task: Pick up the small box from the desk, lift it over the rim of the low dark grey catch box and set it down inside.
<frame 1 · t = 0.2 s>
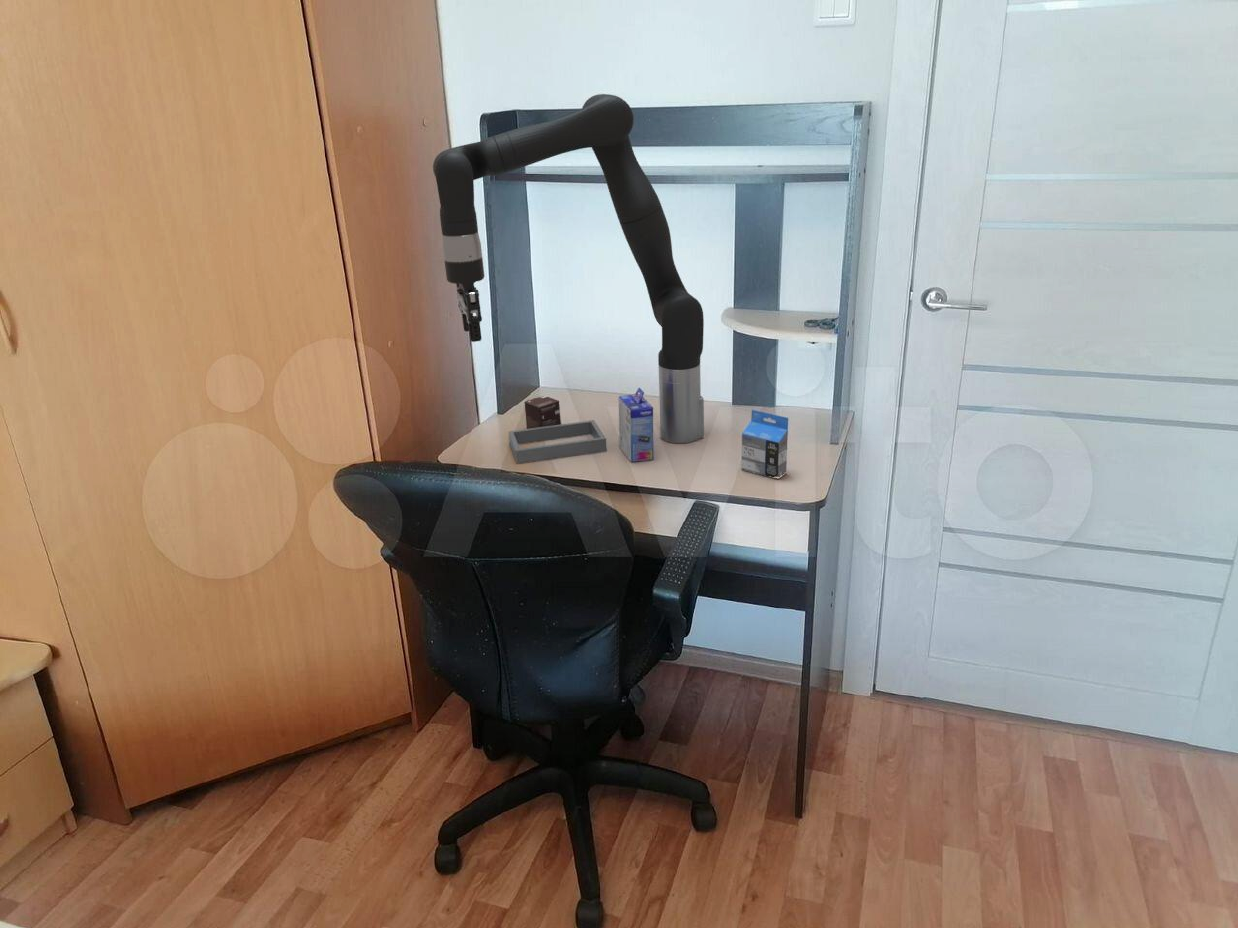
hand: (472, 335, 186), 29 cm above the table, tool pointing down, fingers open, 8 cm apart
label tape cartridge: (763, 472, 187), on the table
catch box: (557, 447, 204), on the table
ink cartridge box: (637, 454, 199), on the table
box: (544, 431, 214), on the table
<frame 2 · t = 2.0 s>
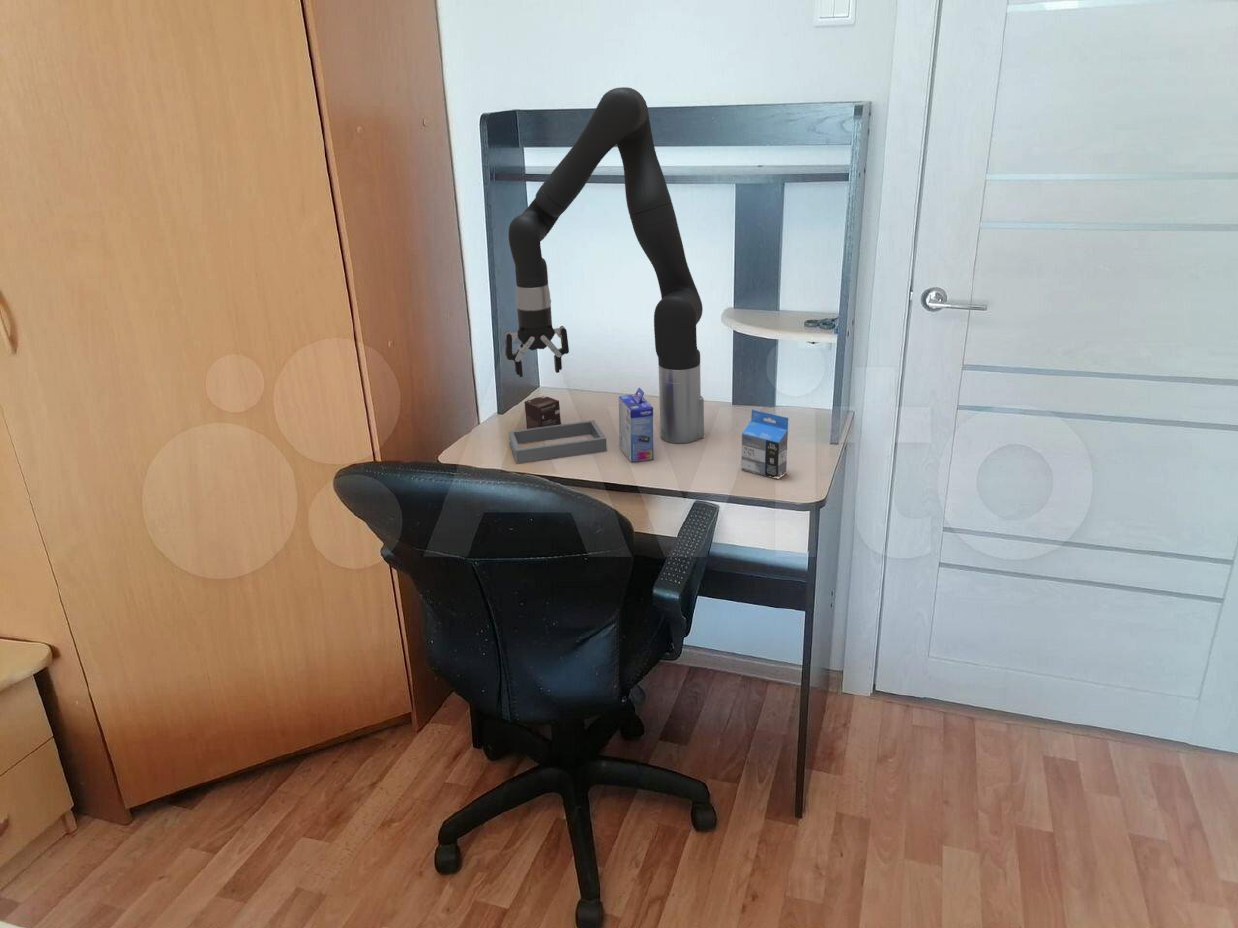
hand: (538, 374, 208), 14 cm above the table, tool pointing down, fingers open, 8 cm apart
nothing on the table moved.
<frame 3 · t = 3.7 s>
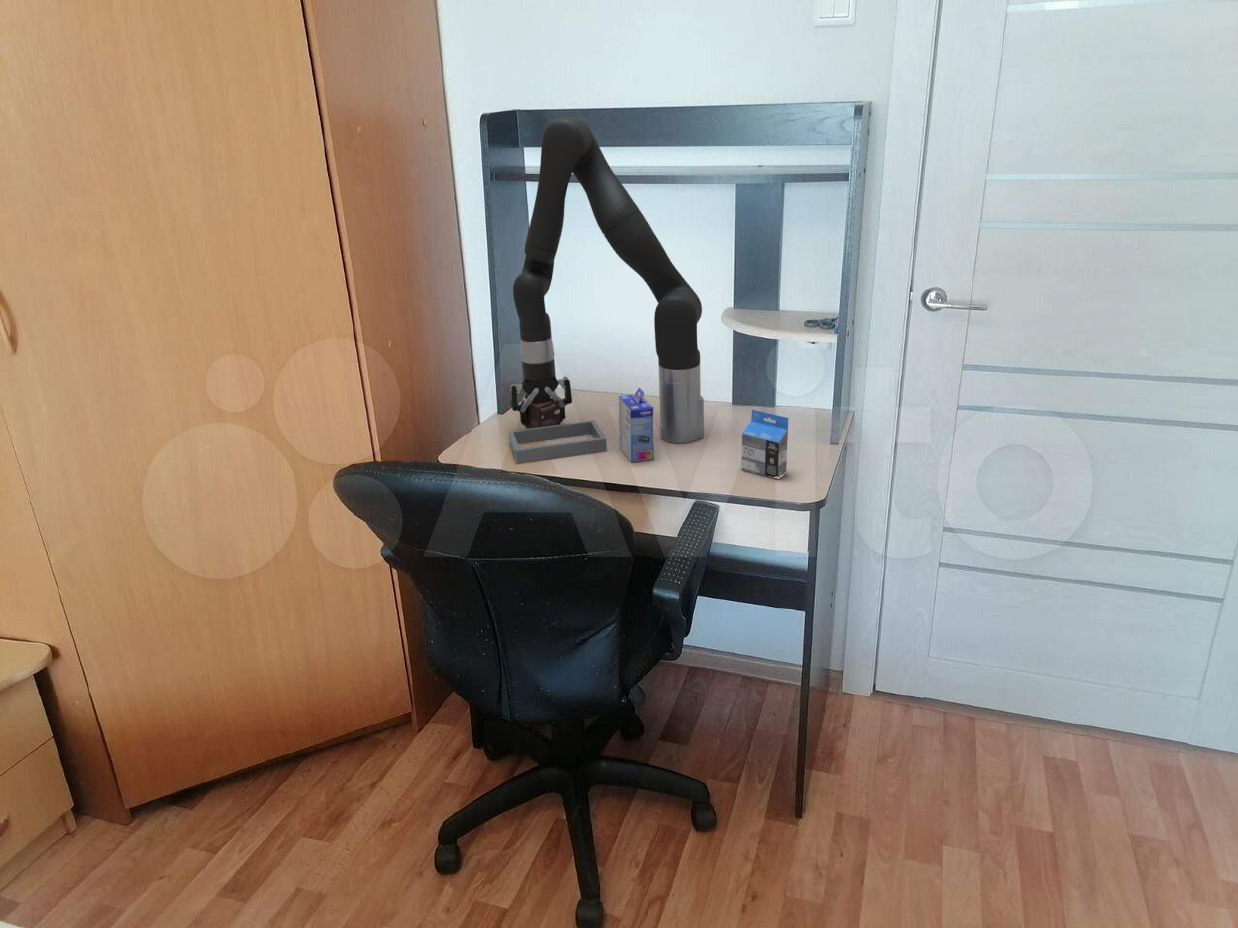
hand: (543, 423, 213), 2 cm above the table, tool pointing down, fingers closed on box, 8 cm apart
box: (543, 430, 214), on the table, touching gripper
everything else where it was.
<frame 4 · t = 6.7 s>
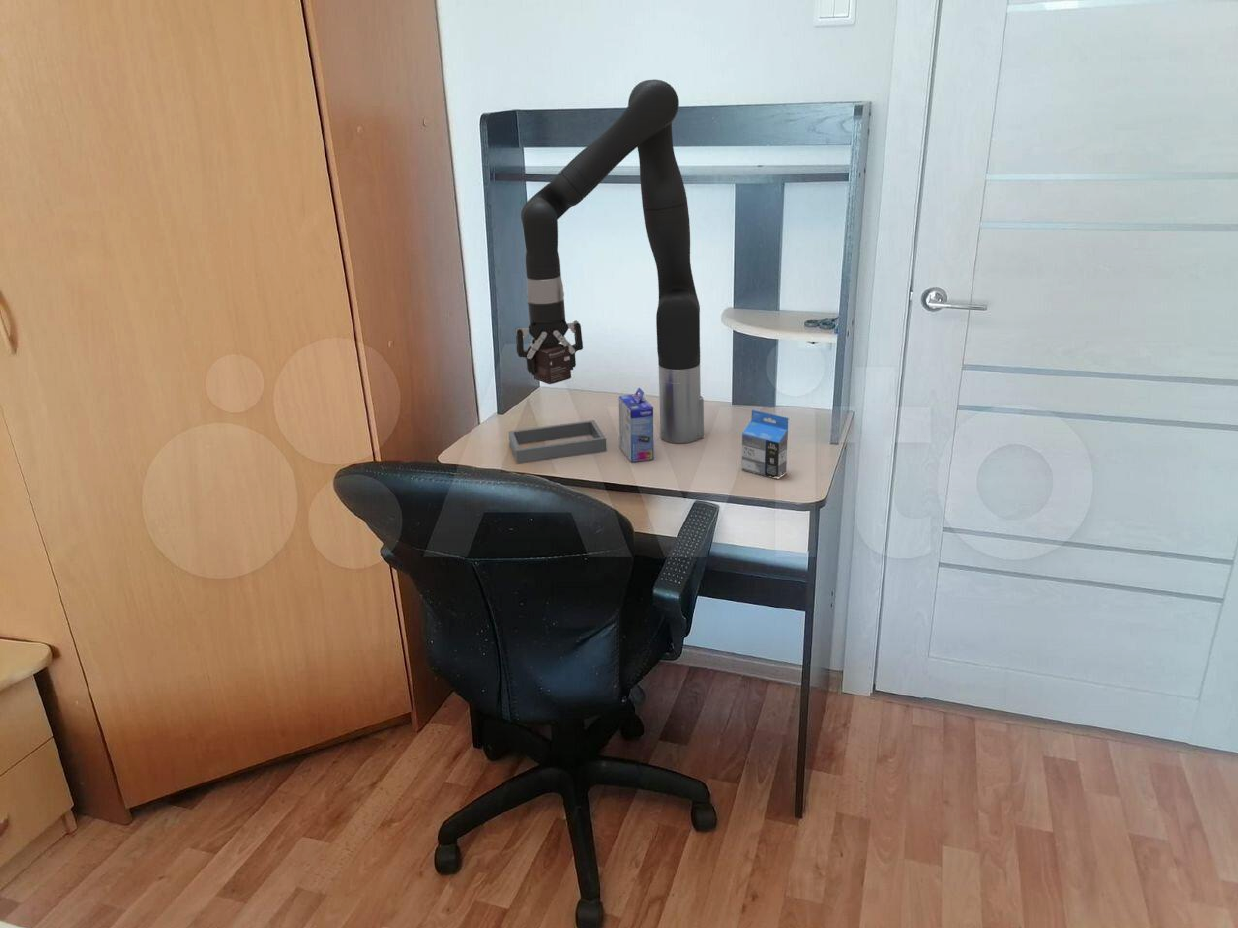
hand: (551, 371, 197), 18 cm above the table, tool pointing down, fingers closed on box, 8 cm apart
box: (552, 379, 198), point 16 cm above the table, touching gripper
everything else where it was.
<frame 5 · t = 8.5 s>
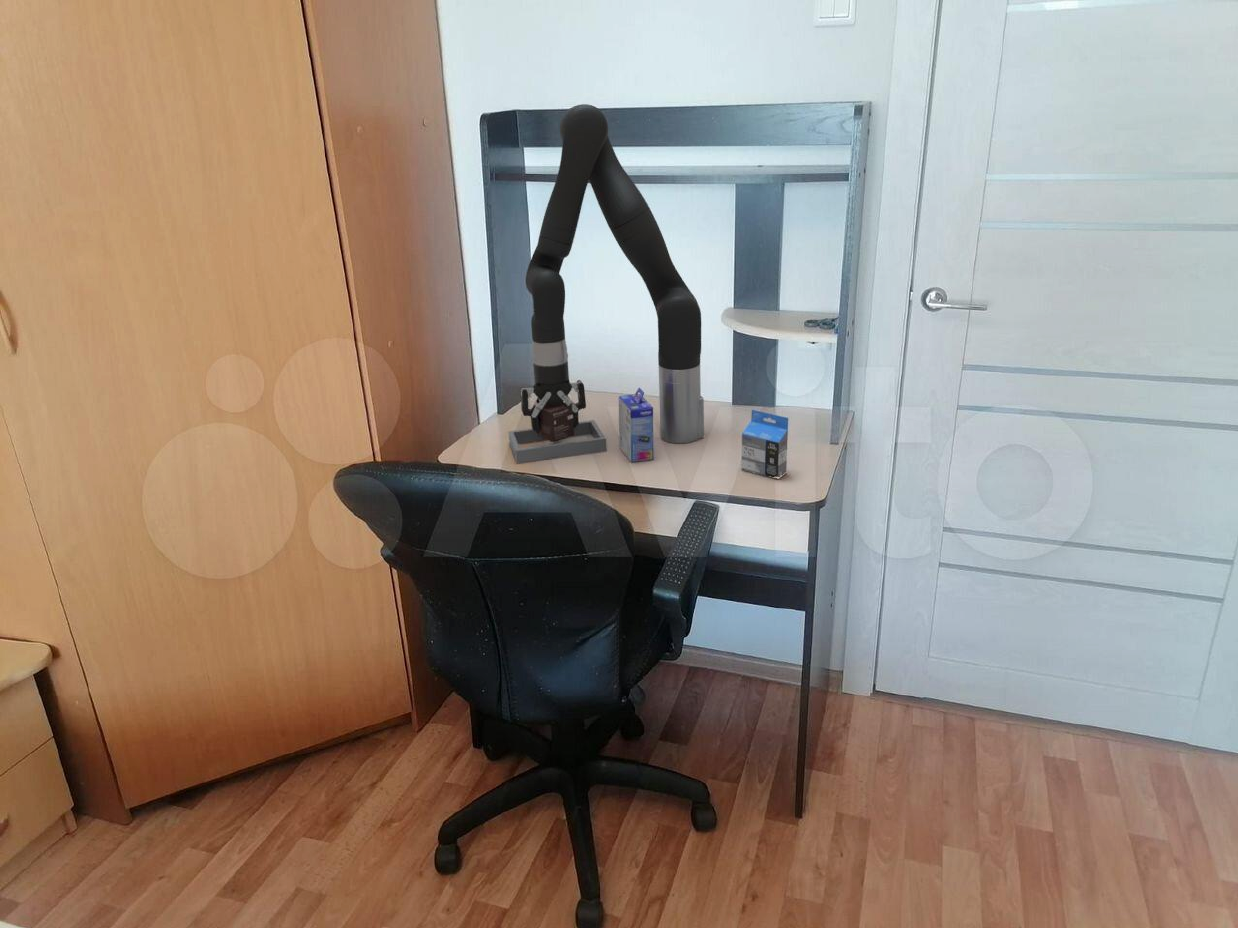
hand: (555, 429, 202), 4 cm above the table, tool pointing down, fingers closed on box, 8 cm apart
box: (556, 436, 203), point 2 cm above the table, touching gripper
everything else where it was.
when the fingers open (3 cm above the table, at t = 9.7 s): box drops 2 cm, resting in catch box.
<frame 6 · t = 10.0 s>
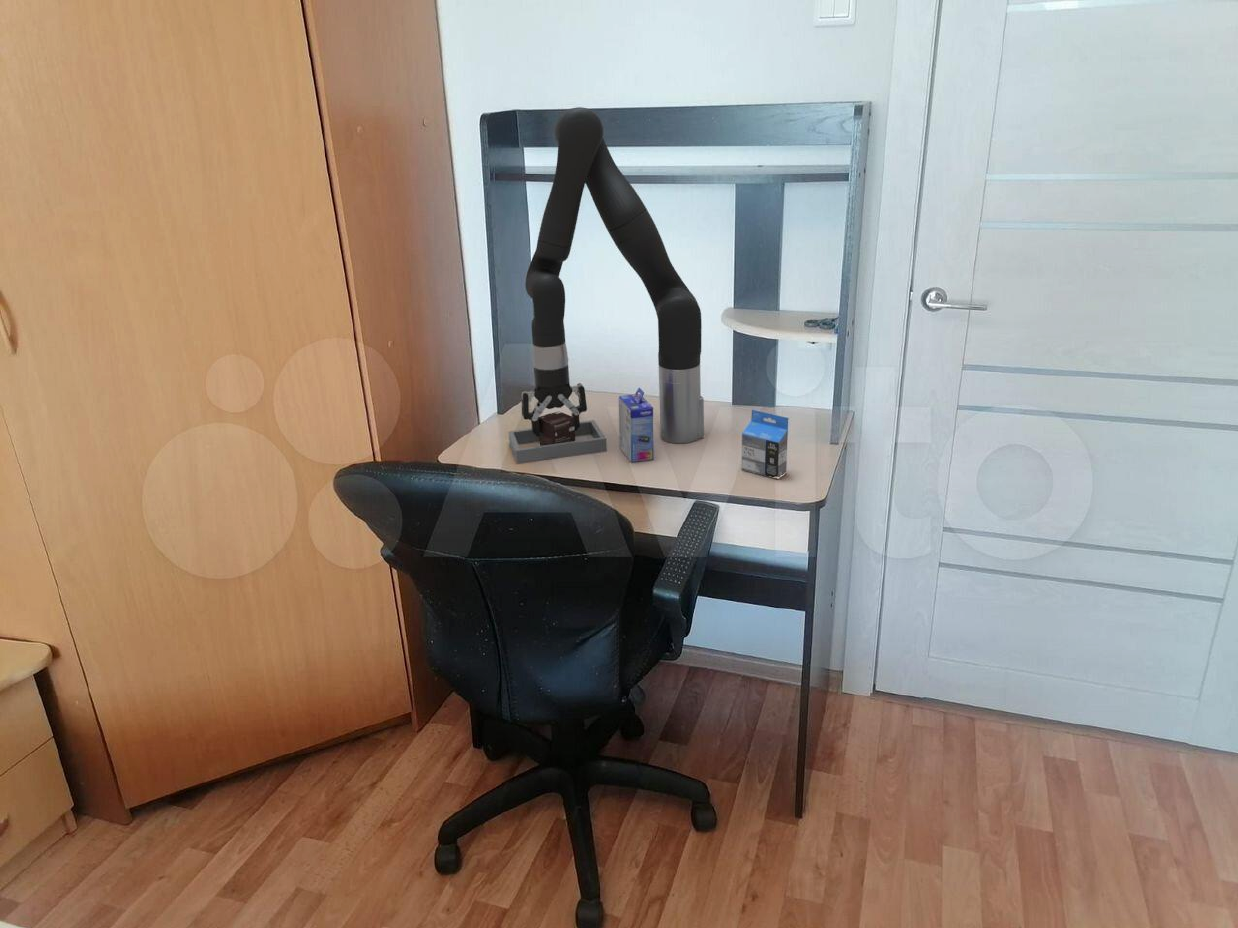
hand: (556, 432, 203), 4 cm above the table, tool pointing down, fingers open, 8 cm apart
box: (557, 448, 204), resting in catch box
everything else where it was.
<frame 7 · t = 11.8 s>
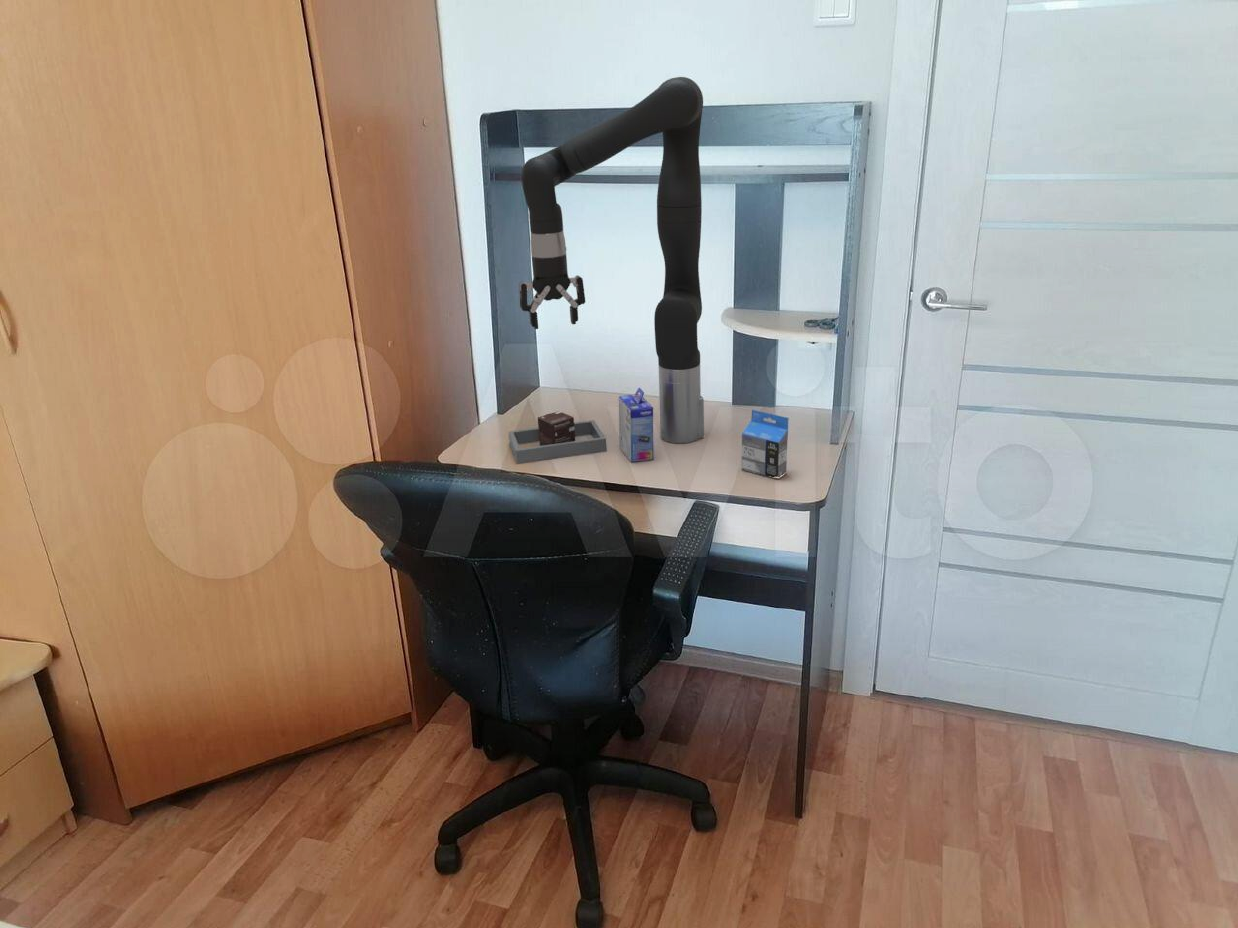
hand: (554, 326, 202), 25 cm above the table, tool pointing down, fingers open, 8 cm apart
nothing on the table moved.
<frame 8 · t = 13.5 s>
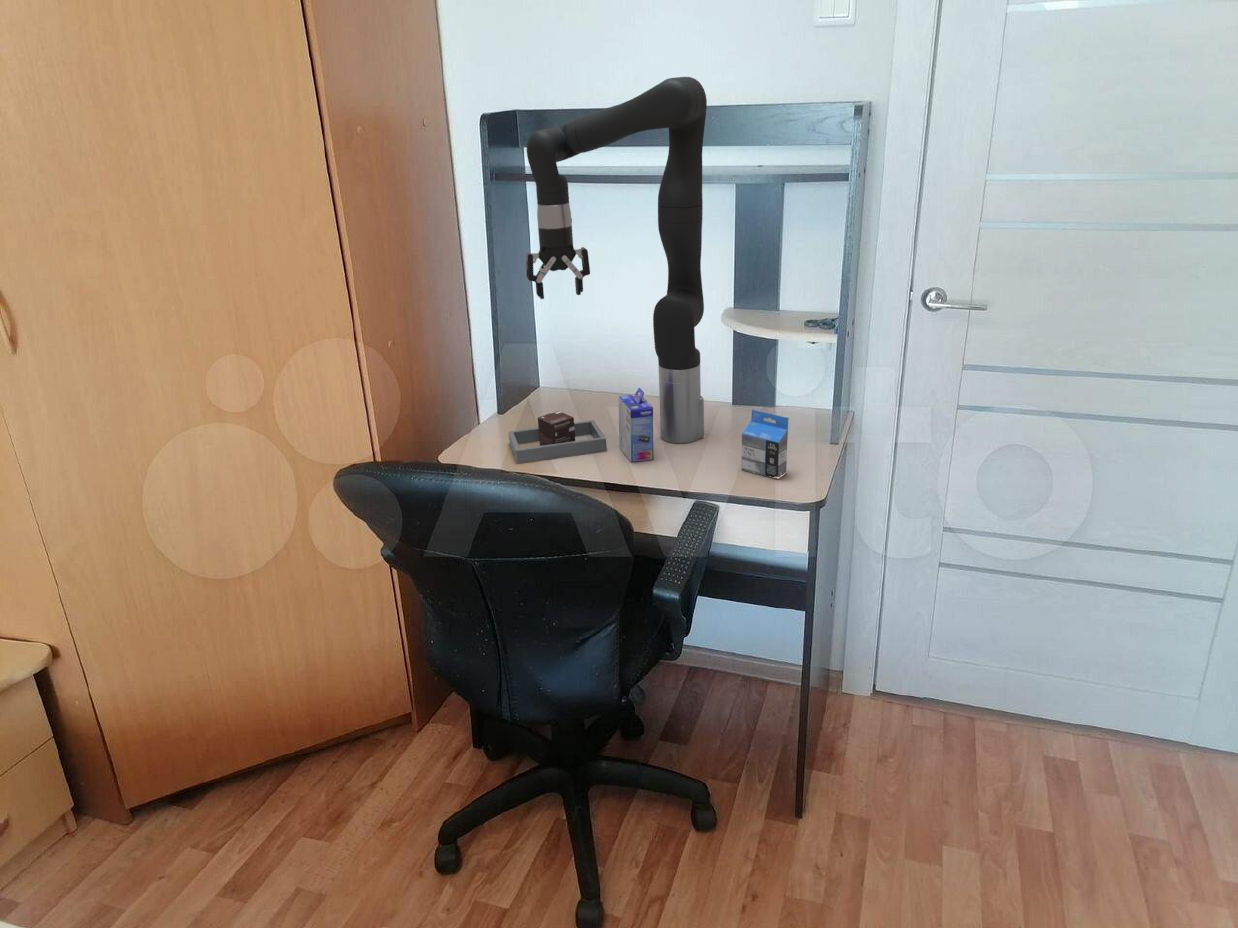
hand: (560, 296, 208), 30 cm above the table, tool pointing down, fingers open, 8 cm apart
nothing on the table moved.
at the end: box inside the target area on the catch box (0.1 cm from its centre), point 0.0 cm above the catch box's base; box tilted 0°; the gripper is holding nothing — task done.
